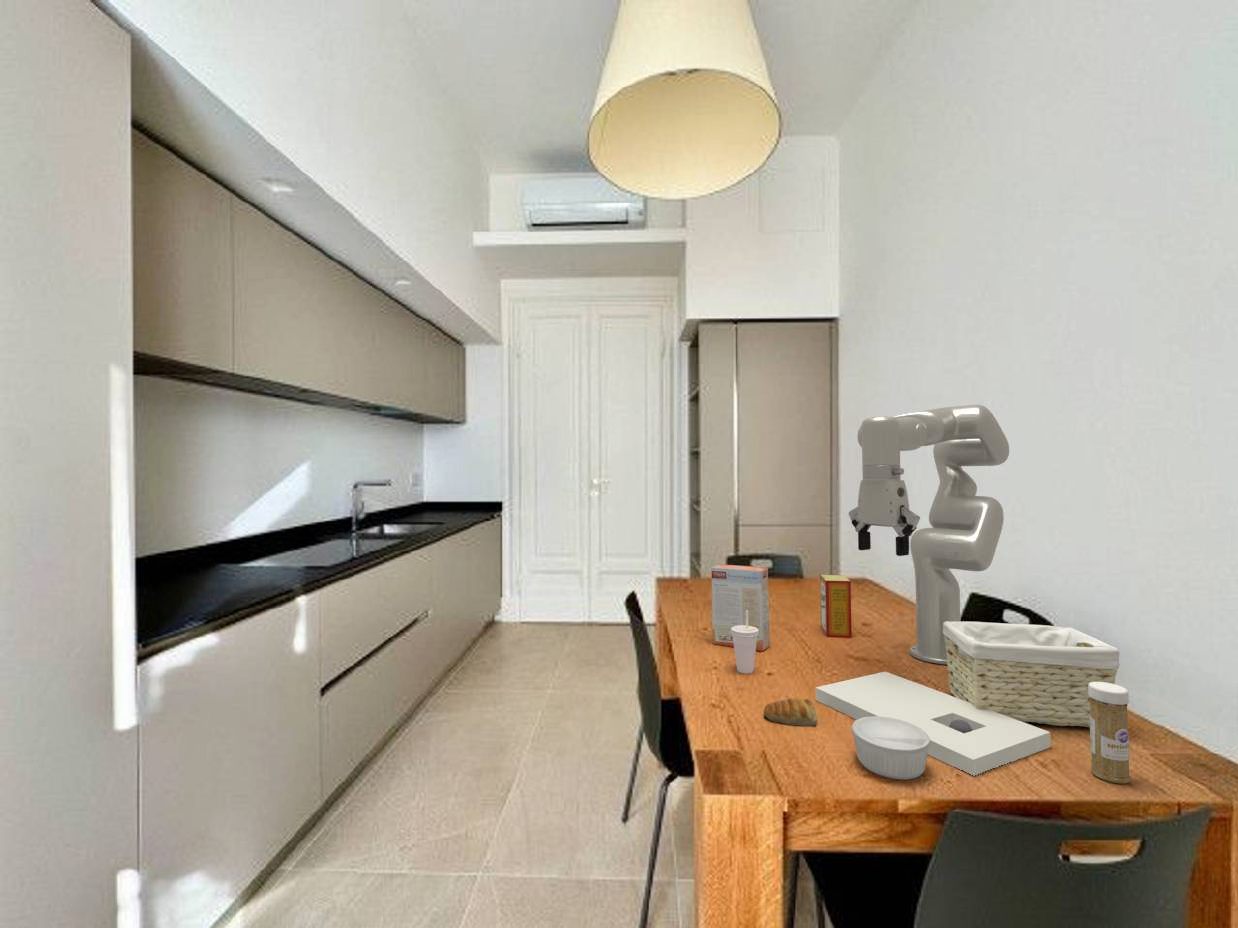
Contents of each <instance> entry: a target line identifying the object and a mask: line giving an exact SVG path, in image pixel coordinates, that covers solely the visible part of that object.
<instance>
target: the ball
mask: <svg viewBox="0 0 1238 928" xmlns="http://www.w3.org/2000/svg"><path fill="white" fill-rule="evenodd" d="M949 727H950V728H952V729H954V730H957V731H959V732H962V733H967V732H970V731H973V730H972V728H971V726H970V725H969V724H968V723H967V722H965V721H963V720H954V721H952V722H951V723H950V725H949Z"/></svg>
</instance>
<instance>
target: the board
mask: <svg viewBox="0 0 1238 928" xmlns="http://www.w3.org/2000/svg"><path fill="white" fill-rule="evenodd" d="M814 689H815V690H814V691H815V695H814V696H815V701H817V702H819V703H821V704H823V705H825V706H827V707H830V708H831V709H833V710H836V712H837V711H838V712H839V713H842V714H844V715H846V716H848V717H850V718H852V719H854V720H855V721H856V720H858V719H860V718H863V717H874V716H877V717H889V718H895V719H899V720H902V721H906V722H908V723H911V724H913V725H915V726H917V727H919V728H921V729H922V730H923V731H925V732H926V733H927V734H928V736H929V738H930V747H929V749H928V754H927V756H930V757H933V758H935V759H937V760H939V761H941V762H943V763H945V764H947V765H949V766H951V767H953V768H955V767H956V768H955V769H957V768H958V769H957V770H959V769H960V770H959V771H961V770H963V771H965V772H967V773H969V774H971V775H970V776H972V775H973V776H972V777H975V775H976V776H978V774H979V775H981V774H983V773H982V772H984V771H987V770H989V771H991V770H990V769H992V768H995V767H997V768H1000V767H1002V766H1001V765H1003V766H1005V765H1008V764H1010V763H1009V762H1011V763H1013V762H1015V761H1018V759H1019V760H1021V759H1024V758H1027V757H1028V756H1029V757H1030V756H1032V755H1033V754H1034V755H1035V754H1037V753H1039V752H1042V751H1045V750H1048V749H1050V748H1051V745H1052V744H1051V731H1048V730H1046V729H1043V728H1040V727H1037V726H1034V725H1032V724H1029V723H1028V722H1021V721H1018V720H1016V719H1013V718H1010V717H1008V716H1005V715H1002V714H999V713H997V712H994V711H991V710H985V709H977V708H975V706H974V705H973V704H972V703H969V702H967V701H964V700H961V699H959V698H956V697H955V696H954V695H953V696H952V695H950V694H947V693H944V692H942V691H940V690H936V689H934V688H931V687H929V686H927V685H924V684H923V685H922V684H920V683H917V682H915V681H912V680H909V679H907V678H904V677H901V676H898V675H895V674H893V673H890V672H888V671H882V672H876V673H873V674H868V675H864V676H860V677H859V676H858V677H856V678H851V679H847V680H842V681H838V682H833V683H828V684H823V685H821V686H816V687H814ZM954 720H963V721H965V722H967V723H968V724H969V725H970V726H971V728H972V730H973V731H970V732H967V733H962V732H959V731H957V730H954V729H952V728H950V727H949V725H950V723H951V722H952V721H954ZM1007 763H1008V764H1007ZM1004 764H1005V765H1004ZM999 766H1000V767H999ZM995 769H996V768H995ZM992 770H993V769H992ZM963 771H962V772H963ZM965 772H964V773H965ZM987 772H988V771H987ZM967 773H966V774H967ZM980 773H981V774H980ZM984 773H985V772H984ZM969 774H968V775H969Z"/></svg>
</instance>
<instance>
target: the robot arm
mask: <svg viewBox="0 0 1238 928" xmlns="http://www.w3.org/2000/svg"><path fill="white" fill-rule="evenodd" d="M857 442H858V444H859V446H860V447H861V454H862V455H861V458H862V460H861V461H862V462H861V464H862V469H861V470H862V480H860V484H859V489H858V497H857V498H858V499H857V506H856V507H854V508H853V509H852V510H849V512H848V516H849V518H850V521H851V524H852V526H853V527H854V529H855V532H856V533H857V543H858V546H857V548H858V549H857V550H858V551H869V550H871V548H872V547H871V546H872V545H871V544H872V543H871V542H872V541H871V540H872V539H871V532H870V531H869V529H870V528H871V527H872V526H877V527H888V528H893V530H894V531H895V533H896V534H897V535H898V536H895V555H896V556H898V557H902V556H903V557H904V556H909V555H910V553H911V557H912V561H913V568H914V576H915V579H914V581H915V615H916V616H915V621H916V622H915V626H916V627H915V629H916V645H913V646H911V647H910V648H909V653H910V655H911V656H912V657H914V658H915V659H918V660H921V661H924V662H927V663H931V664H936V665H937V664H938V665H947V666H948V662H947V653H946V643H945V639H944V636H945V635H944V634H943V623H944V622H946V621H949V622H953V621H956V622H961V588H960V587H961V586H960V585H959V582H958V580H957V578H956V577H955V575H954V574H953V572H952V571H951V570H958V571H959V570H961V571H970V572H983V571H986V570H987V569H989V567H990V566H991V564H992V563H993V559H994V556H995V554H996V549H997V548H998V544H999V540H1000V537H1001V534H1002V530H1003V526H1004V510H1003V509H1004V508H1003V507H1002V504H1001V503H1000V501H998V500H997V499H996V498H994V497H992V496H991V497H990V496H987V495H984V496H983V495H977V492H978V486H977V484H976V482H975V481H974V479H973V478H972V477H971V475H970V474H968V472H966V471H965V470H963V468H962V467H993V466H995V467H996V466H1000V465H1002V464H1003V463H1005V462H1006V461H1007V460H1008V458H1009V455H1010V444H1009V441H1008V439H1007V437H1006V434H1005V432H1004V431H1003V429H1002V427H1001V426H1000V423H999V422H998V420H997V419H996V417H995V415H994V414H993V412H991V411H990V410H989V409H988V407H986V406H984V405H982V404H970V405H969V404H968V405H957V406H947V407H946V406H945V407H939V408H933V409H927V410H921V411H915V412H909V413H904V414H900V415H894V416H874V417H868V418H865V419H864V420H862V422H861V424H860V426H859V429H858V431H857ZM932 445H933V448H932V453H933V454H932V455H933V458H934V459H933V460H934V463H935V467H936V471H937V474H938V475H937V476H938V478H939V485H938V489H937V490H936V494H935V496H934V499H933V501H932V504H931V506H930V510H929V513H928V523H929V525H931V527H924V528H920V529H918V530H916V529H917V526H918V524H919V522H920V521H921V517H920V516H919V515H918V514H916V513H915V512H913V511H912V510H911V509H910V503H909V502H910V501H909V497H908V496H909V495H908V490H907V486H906V482H905V480H903V479H901V476H902V475H904V473H905V470H904V468H903V467H902V468H901V452H907V451H914V450H918V449H920V448H921V447H928V446H932ZM910 537H911V538H910Z"/></svg>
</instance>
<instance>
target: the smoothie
mask: <svg viewBox="0 0 1238 928" xmlns="http://www.w3.org/2000/svg"><path fill="white" fill-rule="evenodd" d="M731 634H732V636H733V643H734V647H733V649H734V656H735V662H736V663H735V664H736V672H738V673H740V674H752V673H754V671H755V670H754V669H755V660H756V659H755V658H756V643H757V635H758V634H759V630H758V629H757V628H756V627H753V626H748V610H746V625H739V626H733V627H732V628H731Z"/></svg>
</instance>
